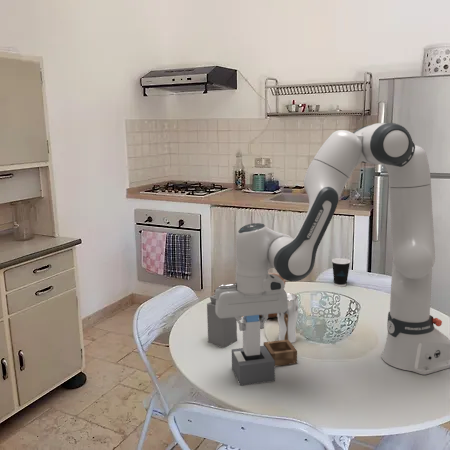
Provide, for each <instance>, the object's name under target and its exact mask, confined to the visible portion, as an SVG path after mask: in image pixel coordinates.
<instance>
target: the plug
mask: <svg viewBox="0 0 450 450" xmlns="http://www.w3.org/2000/svg"><path fill="white" fill-rule="evenodd" d="M260 320H261V319H260V316H259V315H253V316H243V317H242V323H244V324H245V331H242V348H243V351H244V353H245V355H246V356H252V355H260V346H261V329H260Z"/></svg>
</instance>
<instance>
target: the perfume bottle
mask: <svg viewBox="0 0 450 450" xmlns="http://www.w3.org/2000/svg"><path fill="white" fill-rule="evenodd" d="M218 289H220V288H218ZM213 290H214V291H213V293H215V289H213ZM209 299H210V302H208V303H206V311H207V312H206V314H207V315H206V316H207V321H206V322H207V343H208V344H211V345H214V346H217V347H219V348H223V349H226V348H227V347H229V346H230V345H232V344H233V343H235V342H237V341H238V333H237V332H238V329H237V328H238V324H237V323H238V322H237V320H236V318H235V317H232V318H222V319H221V318H219V317H218V316H217V315H216V312H215V306H216V299H215V294H214V295H211V296H209Z"/></svg>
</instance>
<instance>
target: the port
mask: <svg viewBox="0 0 450 450" xmlns="http://www.w3.org/2000/svg"><path fill="white" fill-rule="evenodd" d="M231 369H232V371H233V373H234V376H235V378H236V380H237V382H238V384H239V386H248V385H256V384H262V383H263V384H264V383H269V382H270V383H271V382H275V381H276V366H275V361H274V359H273V358H272V356H271V355H270V353H269V352H268V350H267V349H266V347H265V345H264V344H263V345H260V355H252V356H246V355H245V353H244V351H243V347H241V348H240V347H239V348H232V349H231Z"/></svg>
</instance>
